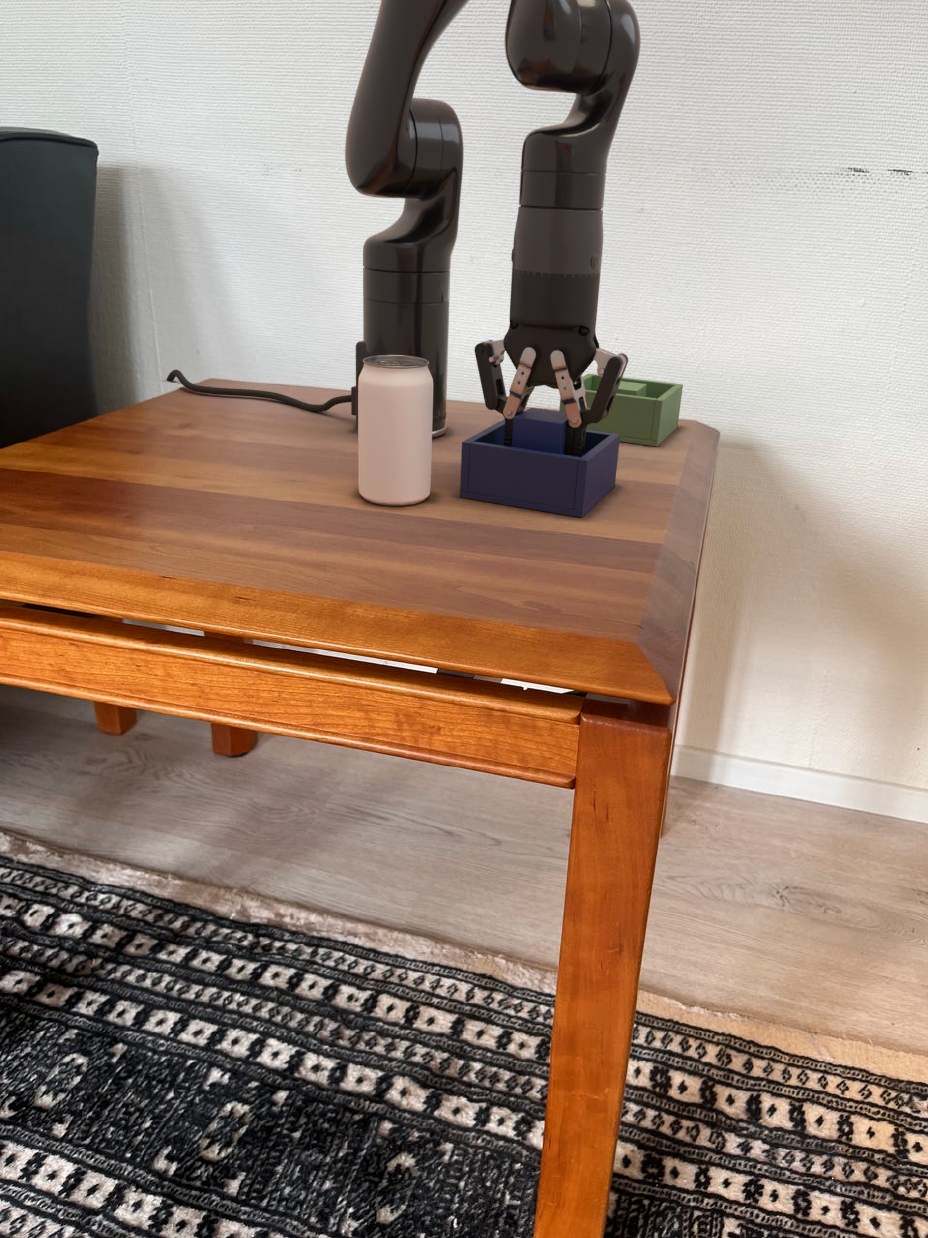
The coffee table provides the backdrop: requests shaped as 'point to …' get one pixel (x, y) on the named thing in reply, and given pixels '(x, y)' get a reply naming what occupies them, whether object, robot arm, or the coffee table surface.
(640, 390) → the sage block
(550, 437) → the navy block
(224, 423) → the coffee table surface
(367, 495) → the can
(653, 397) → the sage bin
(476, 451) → the navy bin
